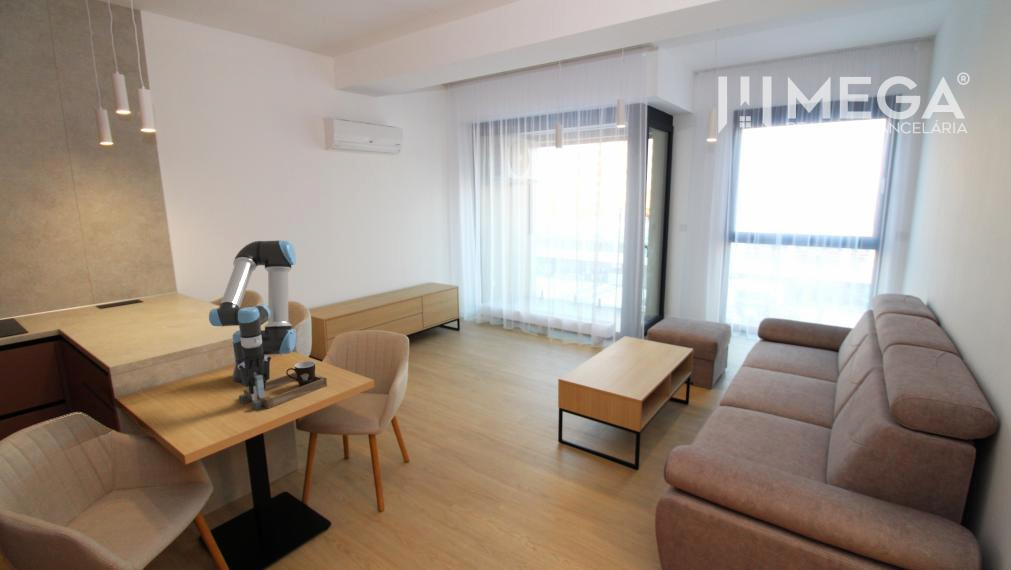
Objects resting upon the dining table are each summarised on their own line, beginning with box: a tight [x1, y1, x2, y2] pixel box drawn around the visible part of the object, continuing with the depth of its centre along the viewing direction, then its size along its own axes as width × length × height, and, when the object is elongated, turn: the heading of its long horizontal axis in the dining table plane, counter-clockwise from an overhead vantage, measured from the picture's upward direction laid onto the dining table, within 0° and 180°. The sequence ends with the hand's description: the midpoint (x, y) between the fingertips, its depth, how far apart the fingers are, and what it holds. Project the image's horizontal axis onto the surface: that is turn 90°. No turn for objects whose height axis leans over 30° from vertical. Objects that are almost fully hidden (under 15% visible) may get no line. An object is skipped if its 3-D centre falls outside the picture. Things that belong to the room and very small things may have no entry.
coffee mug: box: [286, 360, 316, 388], centre depth 215 cm, size 12×9×10 cm
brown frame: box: [243, 371, 328, 409], centre depth 208 cm, size 18×28×12 cm
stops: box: [238, 393, 262, 411], centre depth 196 cm, size 13×2×3 cm, turn 56°
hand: (258, 398), depth 199 cm, fingers open, 2 cm apart
